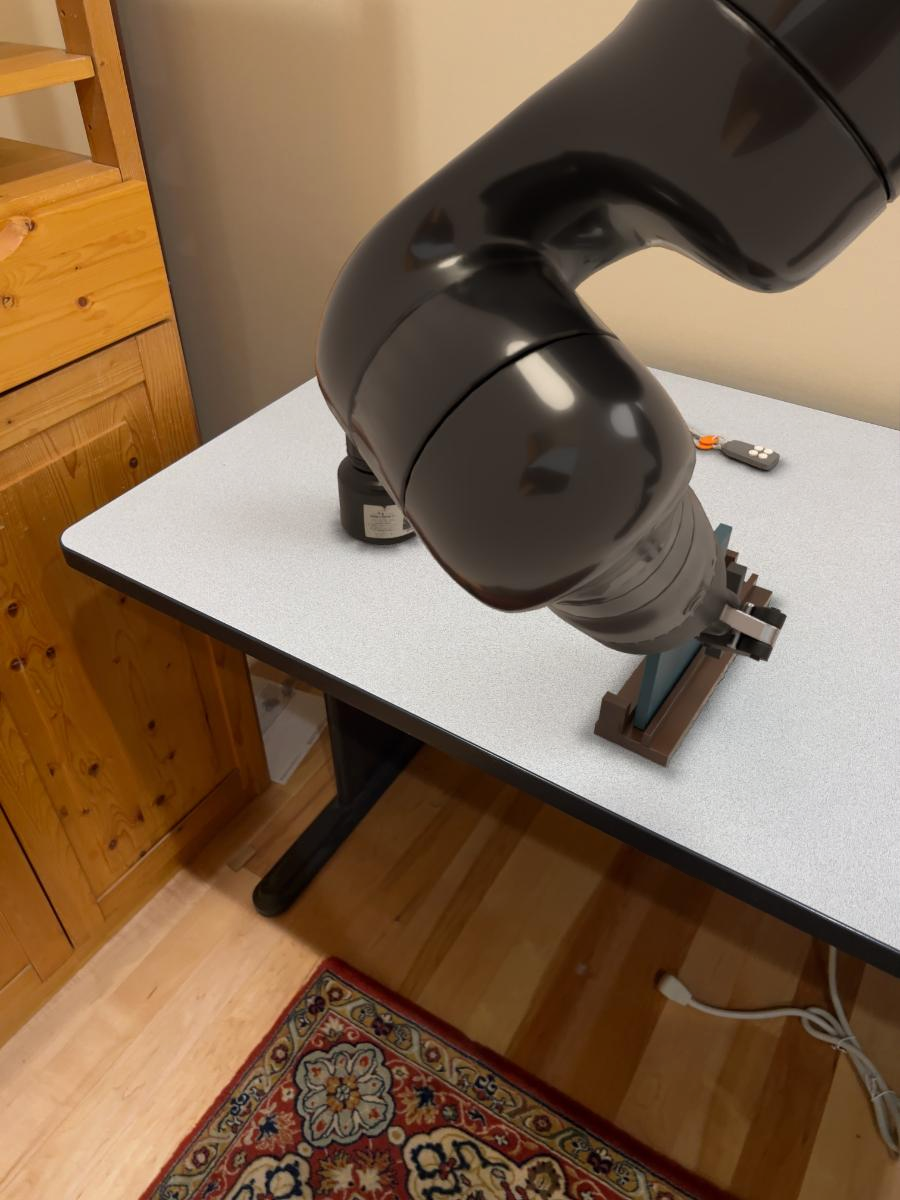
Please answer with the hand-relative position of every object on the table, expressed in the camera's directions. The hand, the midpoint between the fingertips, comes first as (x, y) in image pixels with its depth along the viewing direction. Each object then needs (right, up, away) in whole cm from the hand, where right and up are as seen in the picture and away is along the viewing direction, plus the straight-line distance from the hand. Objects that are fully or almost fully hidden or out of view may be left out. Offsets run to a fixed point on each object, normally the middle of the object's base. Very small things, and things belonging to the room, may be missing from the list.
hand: (684, 621), depth 53 cm
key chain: (+18, +19, +50) cm, 56 cm away
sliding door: (+5, -6, +17) cm, 18 cm away
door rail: (+6, -4, +21) cm, 23 cm away
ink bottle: (-21, +9, +37) cm, 44 cm away
